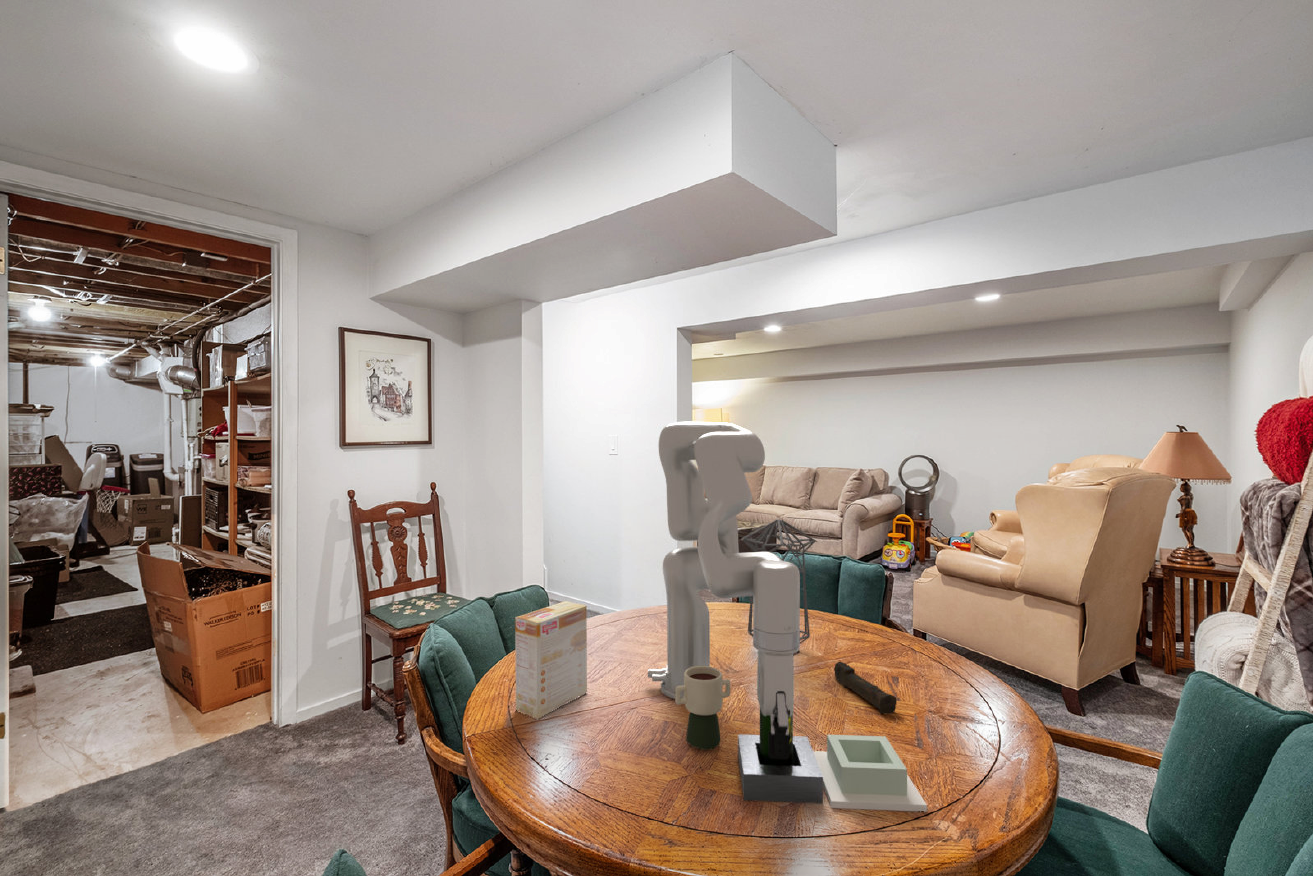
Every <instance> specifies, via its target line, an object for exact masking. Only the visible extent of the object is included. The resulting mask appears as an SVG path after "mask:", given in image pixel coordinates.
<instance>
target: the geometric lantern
mask: <svg viewBox="0 0 1313 876" xmlns="http://www.w3.org/2000/svg"><path fill="white" fill-rule="evenodd" d="M782 529H783V531H784V534H785V537H784V536H783V532H782ZM762 530H764V531H762ZM792 530H793V531H794V532H796V533H799V534H800V535H802V536H804V537H805V538H801V539H799V538H798V536H796V535H795V533H793V531H792ZM760 531H762V532H761V533H760V534H759V535H758V536H757V537H756V538H750V537H752V536H753V535H755V534H757V533H758V532H760ZM773 531H774V534H772V533H773ZM777 533H778V535H777ZM790 535H791V536H792V537H791V536H790ZM771 537H775V538H776V539H777V540H778V541H779V542H780V543H768V542H769V540H770V538H771ZM792 538H794V539H795V540H793V539H792ZM784 540H785V541H787V543H786V542H785V541H784ZM741 541H742V542H744V543H745V544H746V546H748V547H749V548H750V549H751V550H752V551H753V552H759V551H762V552H767V550H766V547H774V548H772V549H771V550H769V551H768V552H771V553H774V551H776V550H778V549H779V548H781V547H786V548H787V551H786V552H785V554H784V556H783V557H782V558H781V560H782V561H785V558H786V557H787V556H788V554H789V552H791V553H792V556H791V558H790V559H789V561H788V562H790V563H791V561H792V560H793V558H794V557H795V558H797V560H798V563H799V566H800V567H798V566H797V568H798V570H799V573H800V574H801V573H802V582H803V583H802V584H803V585H802V587H803V590H802V591H803V612H804V613H803V614H804V615H803V617H804V619H803V620H804V630H801V629H800V633H802V636H800V645H801V644H802V643H804V642H805V641H807V640H808V639H809V638H810V637H811V635H810V633H811V632H810V623H809V610H808V600H807V589H806V588H807V586H806V564H805V563H806V561H805V560H806V559H805V553H806V552H807V551H808V550H809V549H810V548H811V547H812V546H813V545H814V544H815V543H817V542H818V540H816V539H814V538H813V537H811V536H809V535H808V534H806V533H805V532H803V531H801V530H800V529H798V528H797V527H795V526H793V525H791V524H790V523H788V522H786V521H785V520H784V519H775V520H773V521H771V522H770V523H768V524H766V525H764V526H762V527H761V528H759V529H757V530H755V531H753V532H751V533H749V534H747V535H745V536H743V537H742V538H741ZM803 542H804V543H803ZM752 543H753V544H755V545H753V544H752ZM759 544H760V545H761V547H758V545H759ZM793 547H794V548H795V549H794V548H793ZM801 550H802V552H801ZM799 552H801V553H799ZM801 556H802V564H801V560H800V558H799V557H801ZM747 634H748V635H750V636H751V637H752V638H753V596H750V599H749V611H748V625H747ZM797 652H798V651H797ZM797 652H796V654H797ZM798 653H799V652H798ZM796 654H795V653H793V656H794V655H796Z"/></svg>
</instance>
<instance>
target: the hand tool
mask: <svg viewBox="0 0 1313 876" xmlns="http://www.w3.org/2000/svg"><path fill="white" fill-rule="evenodd" d="M833 670H834V677H835V679H836V680H837V683H839V684H840V685H841V686H842V687H843V688H845V689H851V691H853V692H855V693H856V694H858V695H859V696H860V697H861V698H863V699H865V700H866V701H867V702H869V703H870V704H871V705H873V706H874V707H876V708H877V709H878V710H879V713H880V714H881V715H888V714H892V713H894V712H895V711H896V709H897V708H896V707H897V697H896V696H894V694H893V695H892V694H891V693H887V692H885V691H883V690H882V689H881V688H879V687H878V686H877V685H875V684H873V683H870V682H869V681H868V680H866V679H864V678H863V677H861V676H860V675H859V674H857V673H855V672H856V671H855V670H856V669H855V668H853V667H851V666H850V665H849V664H847V663H846V662H842V661H841V660H839V661H838V662H836V663H835V664H834V668H833Z"/></svg>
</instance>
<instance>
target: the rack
mask: <svg viewBox="0 0 1313 876" xmlns="http://www.w3.org/2000/svg"><path fill="white" fill-rule="evenodd" d="M813 752H814V755H815V758H816V760H817V763H818V765H819V768H820V771H821V773H822V776H823V791H824V792H825V795H826V797H827V799H828V803H829V805H830V808H831V809H847V810H848V809H849V810H850V809H851V810H870V811H871V810H872V811H875V810H876V811H894V812H895V811H897V812H898V811H900V812H918V811H920V812H919V813H922V812H921V811H924V812H923V813H927V812H928V804H927V802H926V801H925V800H924V798H923V797H922V795H921V794H920V792H919V790H918V789H917V787H916V785H915V784H914V782H913V781H912V779H911V778H910V776H909V775H908V769H907V767H906V766H905V764H904V763H903V761H902V759H901V757H899V755H898V753H897V752H896V751H895V749H894V748H893V745H892V744H891V742H890V741H889V740H888V738H887V736H885V735H884V736H881V735H879V736H878V735H876V736H875V735H849V734H848V735H847V734H846V735H845V734H844V735H843V734H826V751H822V750H821V751H819V750H817V751H816V750H813Z"/></svg>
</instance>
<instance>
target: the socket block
mask: <svg viewBox="0 0 1313 876" xmlns="http://www.w3.org/2000/svg"><path fill="white" fill-rule="evenodd" d="M813 751H814V749H813V747H812V745H811V741H810V740H809V737H808V736H800V735H793V766H778V765H760V734H738V733H737V759H738V767H739V773H740V780H741V790H742V796H743V801H752V802H756V801H757V802H775V803H776V802H780V803H799V804H800V803H802V804H803V803H805V804H824V787H823V776H822V773H821V771H820V768H819V765H818V763H817V760H816V758H815V755H814V752H813Z"/></svg>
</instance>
